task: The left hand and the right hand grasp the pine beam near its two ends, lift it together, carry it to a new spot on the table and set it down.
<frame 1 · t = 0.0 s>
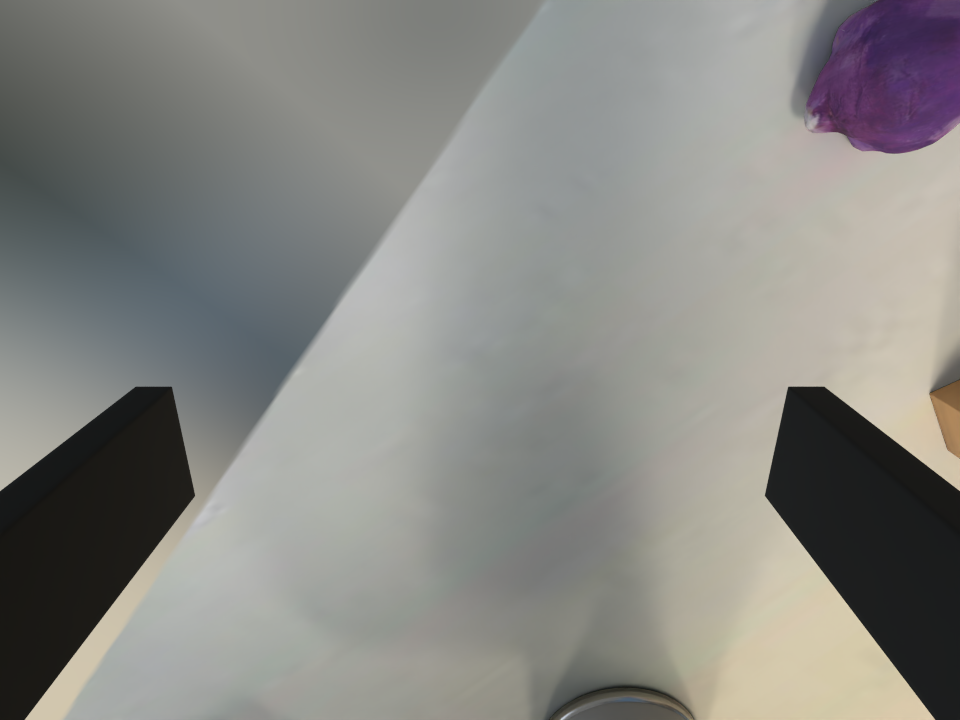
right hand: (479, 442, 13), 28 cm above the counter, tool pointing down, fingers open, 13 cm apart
figurine: (889, 60, 35), on the counter
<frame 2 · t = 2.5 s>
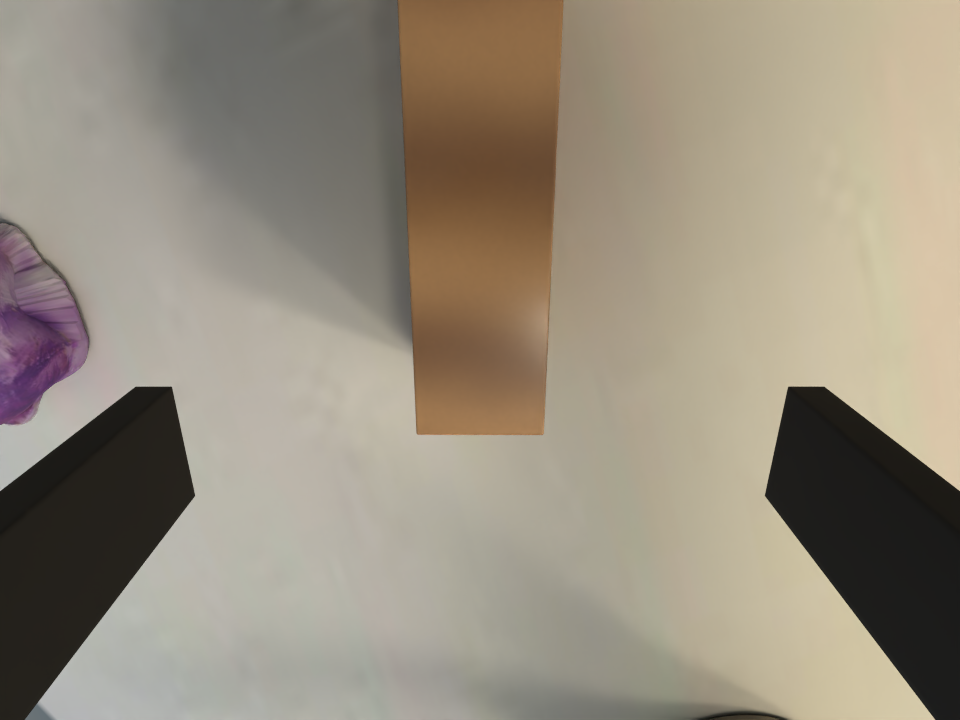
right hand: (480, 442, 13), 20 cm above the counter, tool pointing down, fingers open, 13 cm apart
figurine: (6, 303, 32), on the counter
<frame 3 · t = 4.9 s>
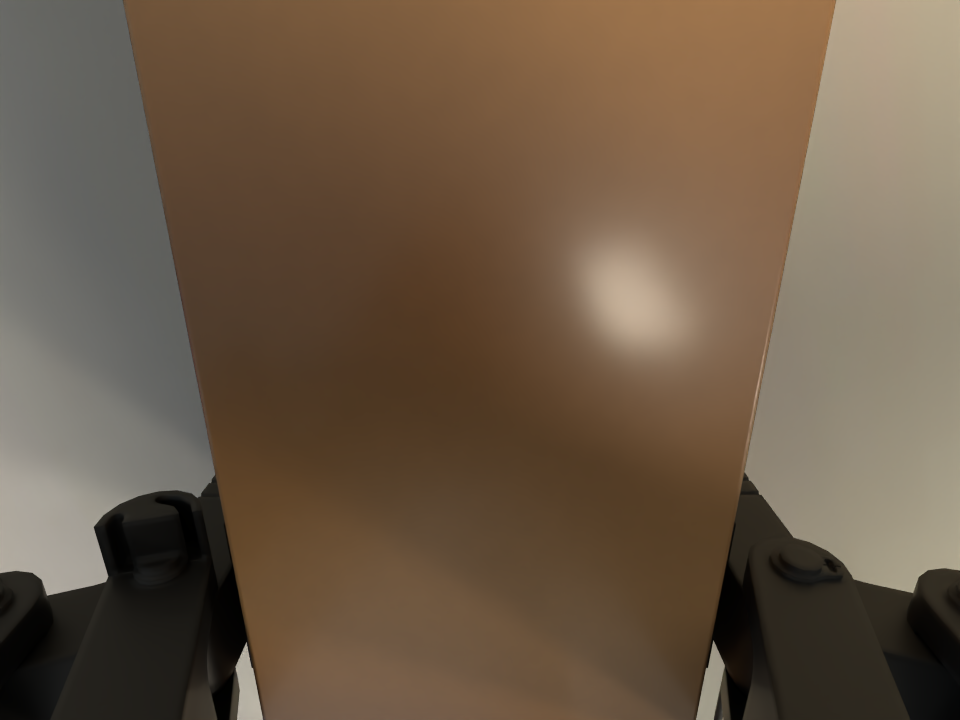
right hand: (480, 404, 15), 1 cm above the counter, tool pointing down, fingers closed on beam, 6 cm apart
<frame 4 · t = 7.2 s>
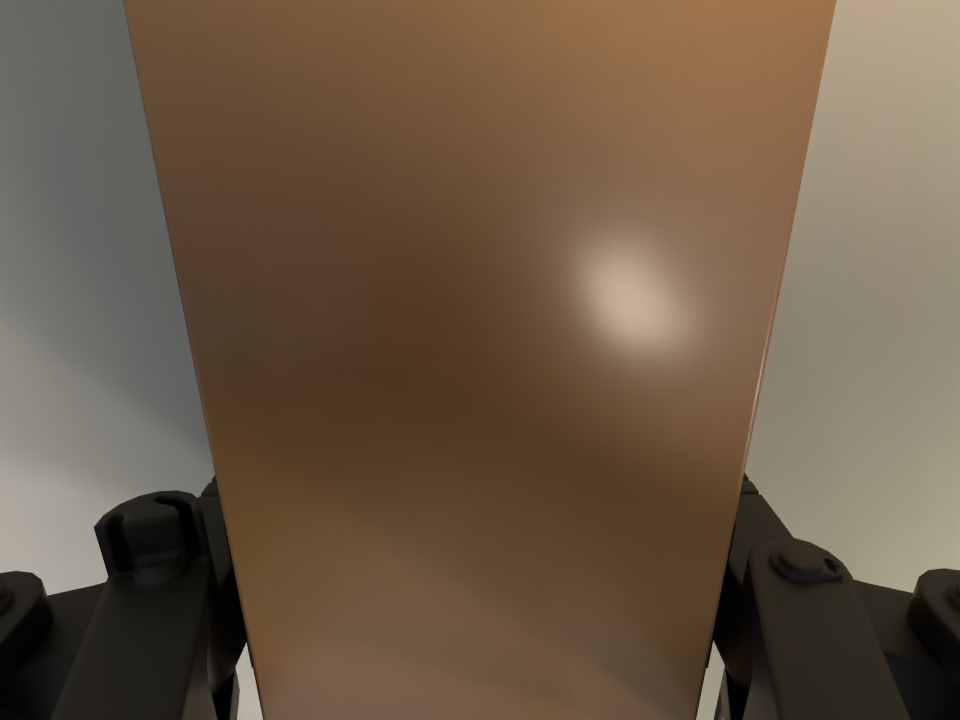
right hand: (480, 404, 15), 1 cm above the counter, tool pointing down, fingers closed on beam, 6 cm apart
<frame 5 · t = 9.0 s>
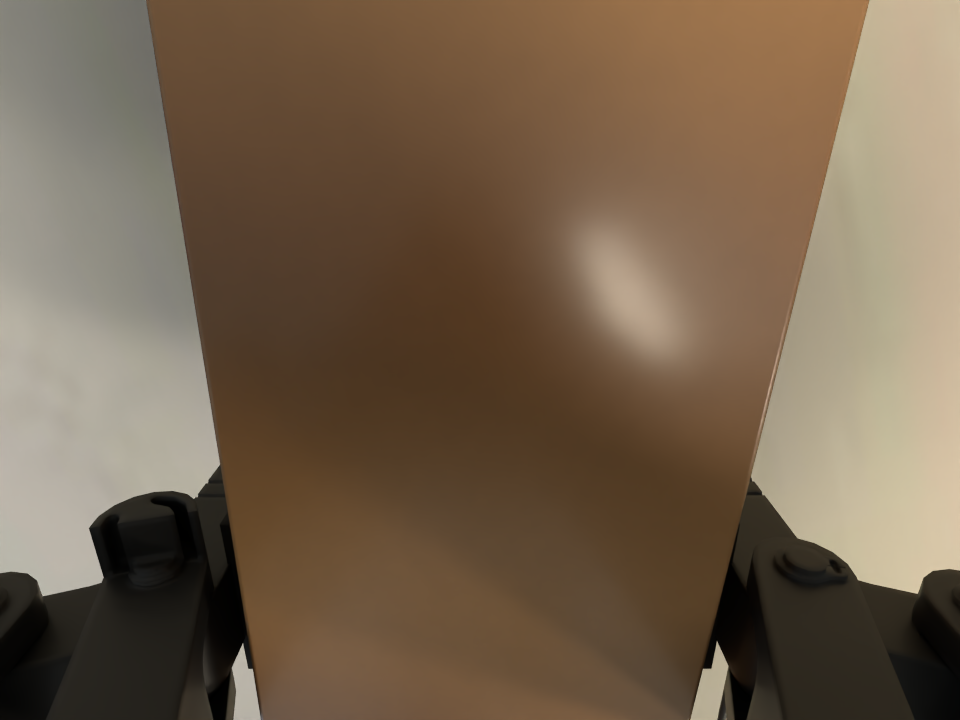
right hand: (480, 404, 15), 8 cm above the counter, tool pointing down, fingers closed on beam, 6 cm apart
when the left hand's fingers open (2 cm above the counter, at t = 11.0 s): beam drops 1 cm, on the counter.
when the right hand's fingers open (2 cm above the counter, at t = 11.0 s): beam drops 1 cm, on the counter.
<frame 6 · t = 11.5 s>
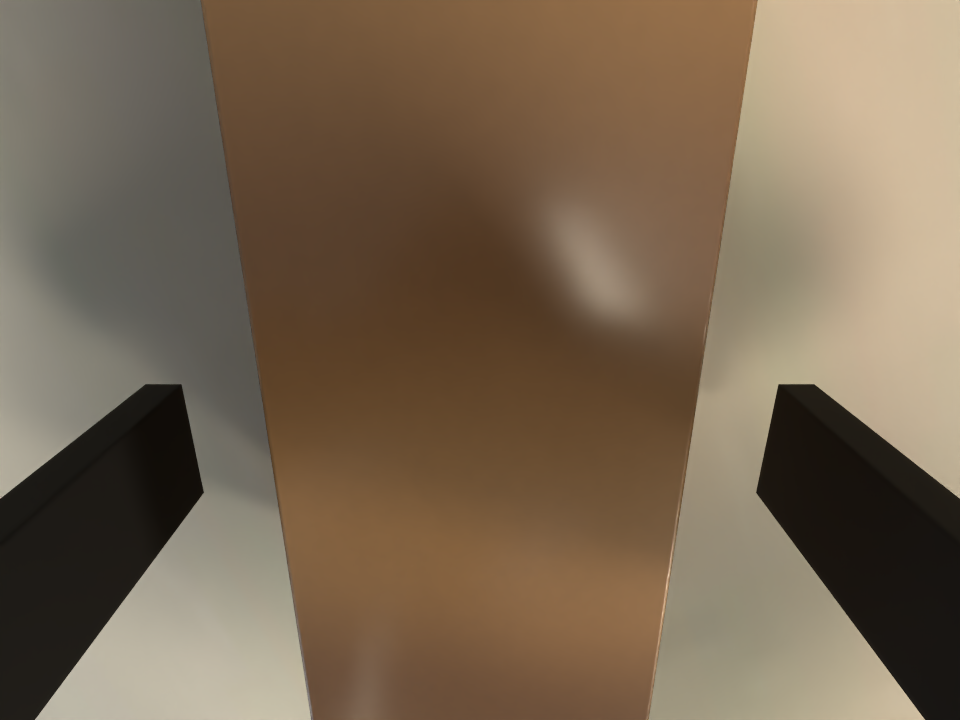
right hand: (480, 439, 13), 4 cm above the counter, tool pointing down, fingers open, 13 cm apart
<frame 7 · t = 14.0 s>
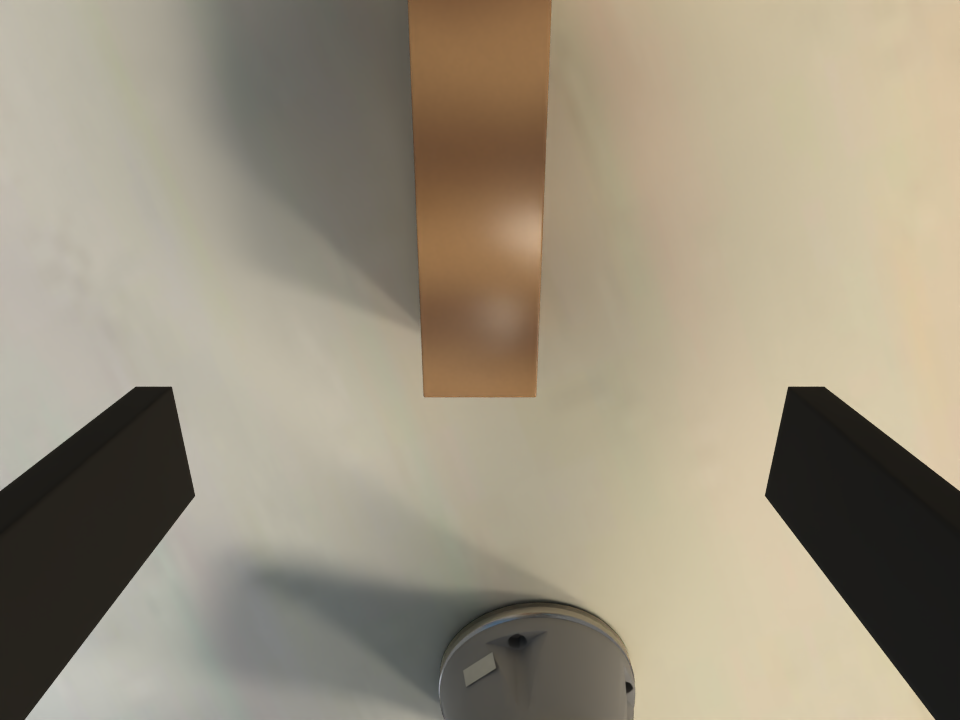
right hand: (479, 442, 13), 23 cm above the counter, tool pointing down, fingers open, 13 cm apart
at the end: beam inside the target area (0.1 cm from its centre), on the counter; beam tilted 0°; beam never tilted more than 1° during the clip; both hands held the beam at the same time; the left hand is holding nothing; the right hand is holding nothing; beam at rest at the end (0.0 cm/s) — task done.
